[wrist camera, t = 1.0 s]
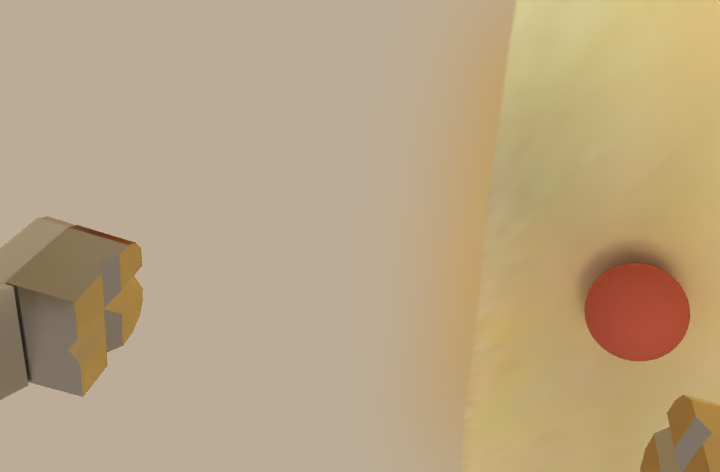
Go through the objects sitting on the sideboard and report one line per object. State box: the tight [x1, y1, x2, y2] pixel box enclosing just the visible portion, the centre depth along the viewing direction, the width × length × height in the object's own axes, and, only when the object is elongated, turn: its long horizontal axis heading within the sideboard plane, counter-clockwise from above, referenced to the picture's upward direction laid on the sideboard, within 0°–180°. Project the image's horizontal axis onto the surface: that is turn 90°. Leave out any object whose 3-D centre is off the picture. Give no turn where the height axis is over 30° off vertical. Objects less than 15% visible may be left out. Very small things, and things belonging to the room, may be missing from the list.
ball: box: [585, 263, 690, 361], centre depth 42 cm, size 6×6×6 cm
